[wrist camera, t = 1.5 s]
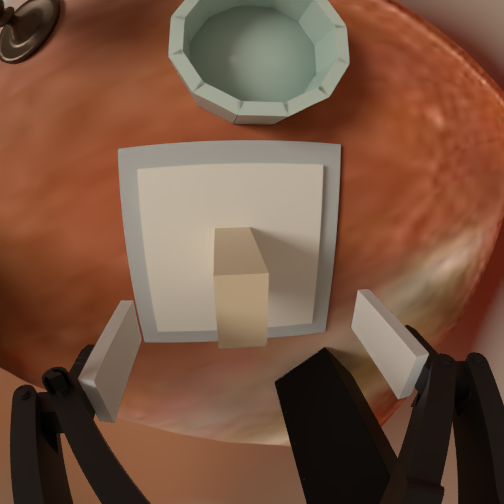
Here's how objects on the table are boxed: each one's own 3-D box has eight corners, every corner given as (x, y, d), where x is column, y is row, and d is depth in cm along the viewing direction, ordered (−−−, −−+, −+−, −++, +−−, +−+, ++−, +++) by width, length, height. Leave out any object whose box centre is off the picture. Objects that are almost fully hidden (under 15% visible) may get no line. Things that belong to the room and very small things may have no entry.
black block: (306, 405, 36) (366, 579, 10) (273, 381, 33) (330, 595, 7) (352, 374, 35) (443, 546, 9) (324, 345, 32) (430, 559, 6)
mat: (145, 339, 29) (144, 342, 29) (120, 149, 23) (117, 148, 22) (323, 329, 31) (324, 332, 31) (338, 144, 25) (340, 144, 24)
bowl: (178, 126, 23) (166, 118, 17) (183, 4, 18) (176, -28, 13) (323, 127, 24) (351, 122, 18) (318, 10, 20) (340, -17, 14)
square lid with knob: (158, 327, 28) (139, 403, 18) (139, 168, 23) (87, 181, 13) (309, 319, 30) (346, 389, 20) (320, 164, 25) (383, 175, 15)
